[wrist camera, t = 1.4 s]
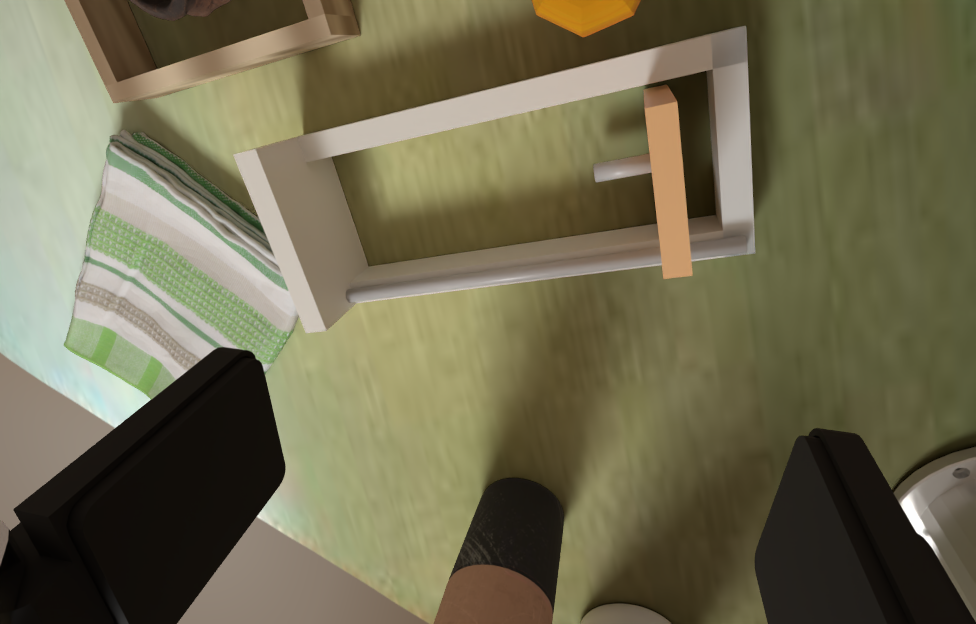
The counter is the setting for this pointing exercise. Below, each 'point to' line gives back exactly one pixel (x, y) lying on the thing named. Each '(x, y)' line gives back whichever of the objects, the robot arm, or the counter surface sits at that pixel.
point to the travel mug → (507, 558)
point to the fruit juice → (623, 615)
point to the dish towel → (173, 272)
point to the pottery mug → (178, 7)
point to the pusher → (661, 178)
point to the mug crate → (135, 76)
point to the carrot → (585, 13)
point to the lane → (349, 280)
